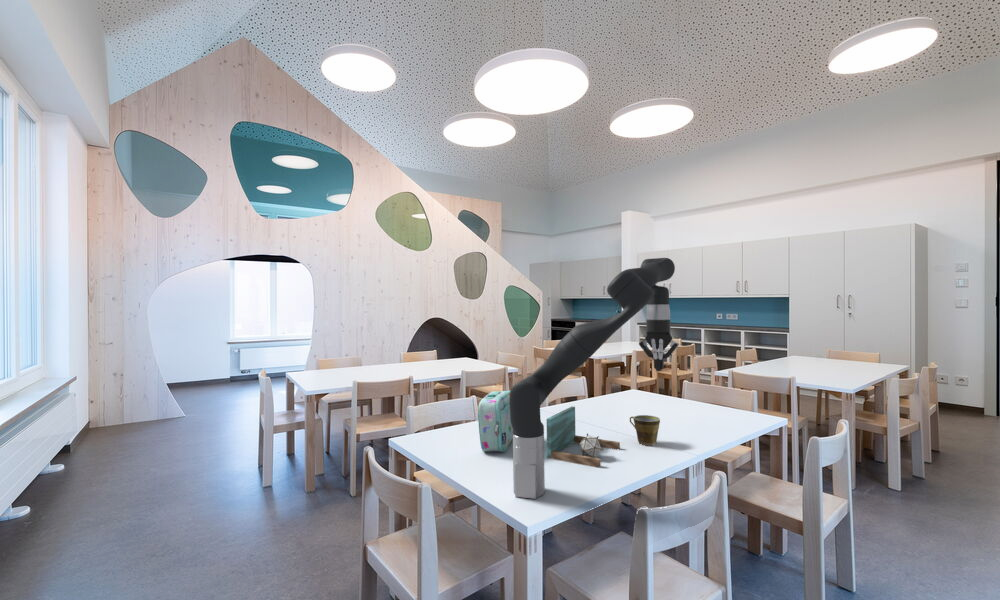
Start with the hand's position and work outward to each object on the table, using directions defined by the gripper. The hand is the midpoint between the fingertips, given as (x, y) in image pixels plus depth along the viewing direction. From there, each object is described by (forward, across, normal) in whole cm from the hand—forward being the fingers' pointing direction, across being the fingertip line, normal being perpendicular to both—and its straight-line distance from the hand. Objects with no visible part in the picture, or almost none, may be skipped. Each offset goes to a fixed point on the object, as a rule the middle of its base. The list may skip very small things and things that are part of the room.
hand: (659, 370), depth 149 cm
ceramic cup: (+33, -13, +28) cm, 45 cm away
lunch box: (+33, -61, -4) cm, 70 cm away
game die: (+33, -25, +1) cm, 41 cm away
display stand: (+33, -28, +4) cm, 43 cm away
